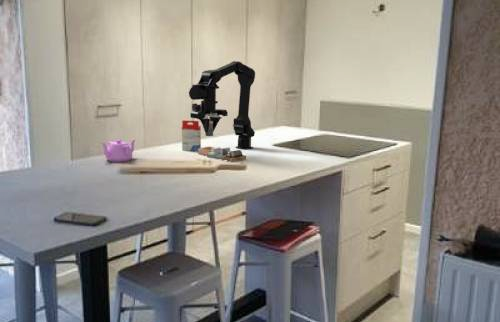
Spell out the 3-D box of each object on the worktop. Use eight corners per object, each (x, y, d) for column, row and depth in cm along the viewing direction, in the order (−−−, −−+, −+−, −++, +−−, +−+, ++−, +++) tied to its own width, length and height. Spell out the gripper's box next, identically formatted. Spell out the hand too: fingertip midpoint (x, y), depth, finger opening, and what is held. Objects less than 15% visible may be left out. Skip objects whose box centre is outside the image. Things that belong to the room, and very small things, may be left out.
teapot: (100, 162, 226) (100, 141, 224) (110, 156, 240) (110, 136, 238) (128, 163, 226) (128, 142, 224) (136, 157, 239) (136, 137, 238)
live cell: (236, 157, 242) (236, 149, 241) (242, 158, 240) (242, 150, 239) (225, 159, 237) (225, 151, 236) (231, 160, 234) (231, 152, 234)
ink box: (200, 149, 261) (201, 119, 258) (199, 151, 256) (199, 121, 253) (183, 148, 262) (183, 119, 259) (181, 150, 257) (181, 120, 254)
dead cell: (214, 135, 248) (214, 119, 246) (209, 136, 245) (209, 120, 244) (209, 134, 250) (209, 118, 249) (203, 135, 247) (203, 119, 246)
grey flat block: (222, 154, 250) (222, 146, 250) (236, 157, 244) (236, 149, 244) (206, 156, 243) (207, 149, 242) (220, 159, 237) (220, 151, 236)
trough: (236, 157, 244) (237, 153, 244) (246, 159, 240) (246, 155, 240) (222, 160, 237) (222, 156, 237) (231, 162, 233) (231, 158, 233)
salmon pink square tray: (209, 152, 254) (209, 146, 254) (219, 154, 250) (219, 148, 249) (198, 154, 249) (198, 148, 249) (208, 156, 245) (208, 150, 244)
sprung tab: (228, 153, 244) (228, 147, 244) (230, 154, 243) (230, 147, 243) (220, 155, 241) (220, 148, 240) (222, 155, 240) (222, 149, 239)
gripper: (212, 96, 256) (211, 128, 259) (182, 98, 243) (182, 132, 246) (228, 98, 249) (228, 131, 252) (198, 100, 235) (198, 135, 239)
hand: (209, 132), depth 247 cm, fingers closed on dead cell, 4 cm apart
